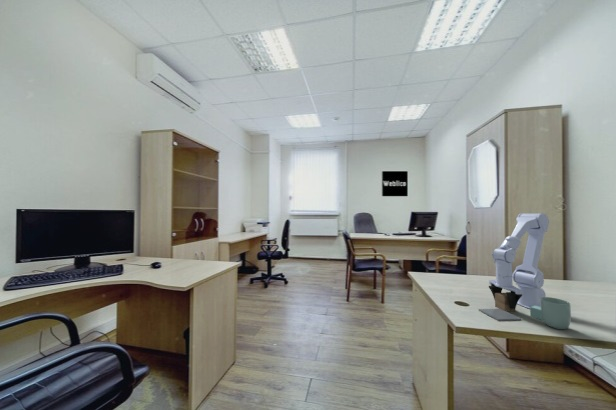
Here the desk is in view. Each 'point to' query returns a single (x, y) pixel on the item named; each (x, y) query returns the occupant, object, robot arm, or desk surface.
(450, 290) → the desk surface
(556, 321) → the cup
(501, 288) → the robot arm
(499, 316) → the slate coaster
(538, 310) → the teal block
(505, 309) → the walnut block
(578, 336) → the desk surface
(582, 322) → the desk surface
